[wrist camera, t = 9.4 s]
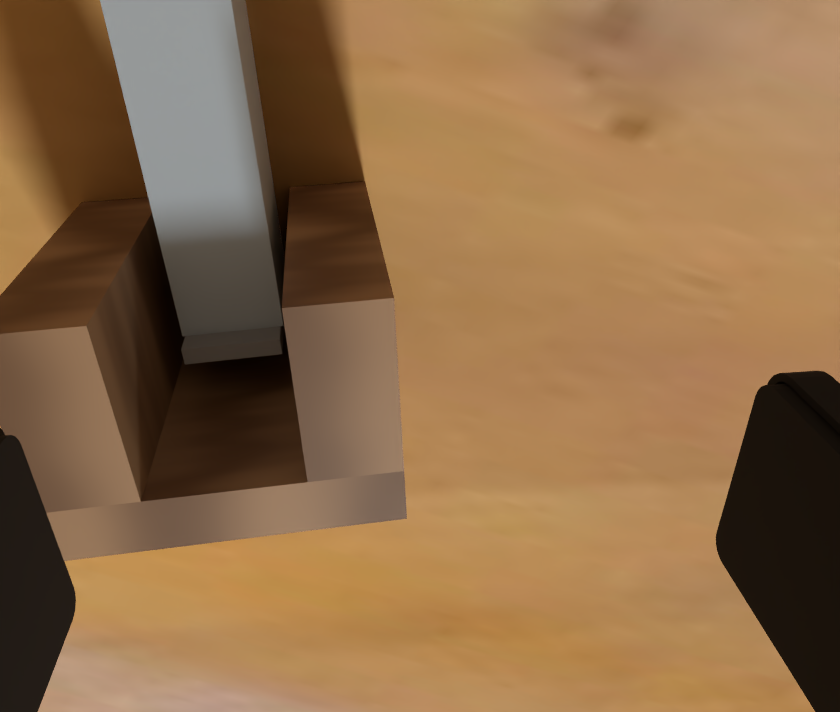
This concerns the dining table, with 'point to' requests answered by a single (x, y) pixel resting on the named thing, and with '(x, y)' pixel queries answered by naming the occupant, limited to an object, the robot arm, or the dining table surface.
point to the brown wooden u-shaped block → (203, 387)
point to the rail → (204, 168)
